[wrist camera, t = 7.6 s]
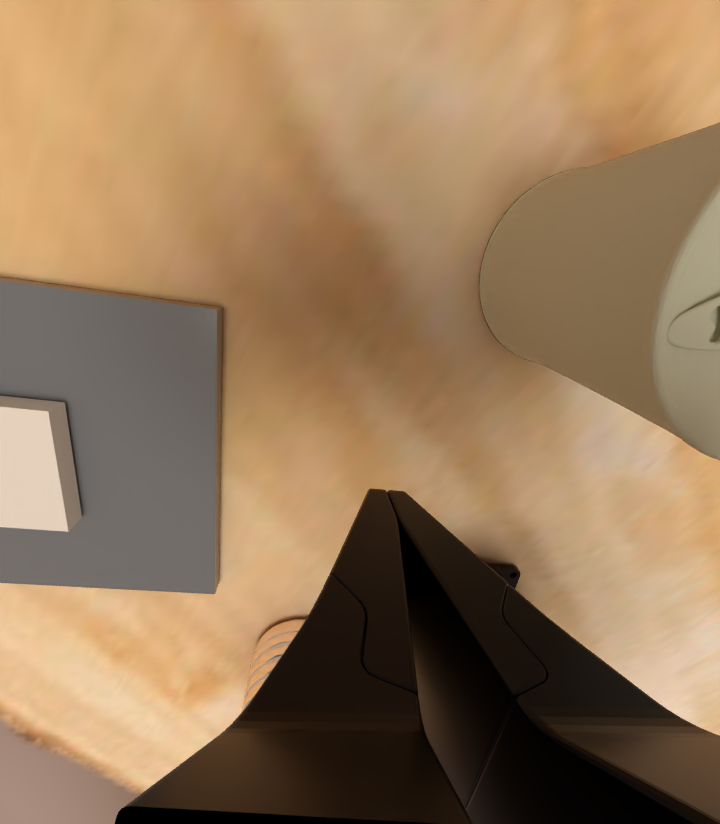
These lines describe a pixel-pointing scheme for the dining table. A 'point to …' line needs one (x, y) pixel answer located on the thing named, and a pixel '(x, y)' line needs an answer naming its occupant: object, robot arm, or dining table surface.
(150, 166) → the dining table surface
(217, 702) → the dining table surface
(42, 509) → the tile
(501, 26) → the dining table surface
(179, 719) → the dining table surface
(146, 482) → the board
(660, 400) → the can
